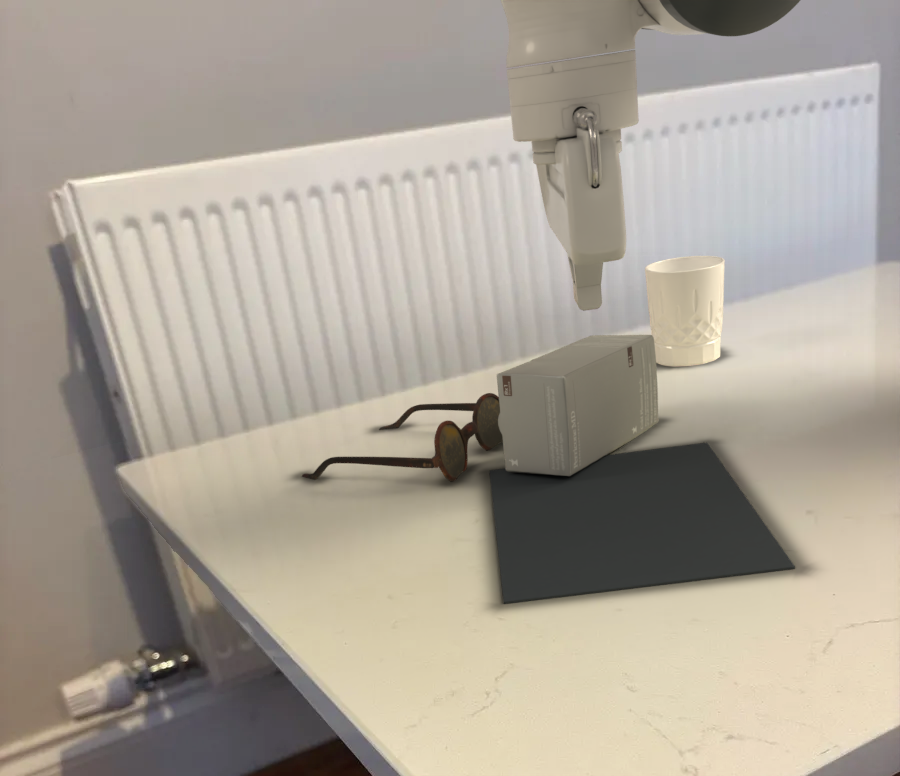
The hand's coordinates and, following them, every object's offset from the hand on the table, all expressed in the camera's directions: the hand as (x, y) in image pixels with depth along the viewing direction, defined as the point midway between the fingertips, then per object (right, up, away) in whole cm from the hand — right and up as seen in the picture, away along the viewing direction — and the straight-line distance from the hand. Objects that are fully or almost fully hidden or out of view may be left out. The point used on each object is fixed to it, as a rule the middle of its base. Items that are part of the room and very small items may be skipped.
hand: (588, 306), depth 78 cm
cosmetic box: (+5, -2, +14) cm, 15 cm away
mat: (+2, -16, -4) cm, 17 cm away
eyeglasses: (-14, -10, +14) cm, 22 cm away
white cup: (+15, +3, +30) cm, 34 cm away
